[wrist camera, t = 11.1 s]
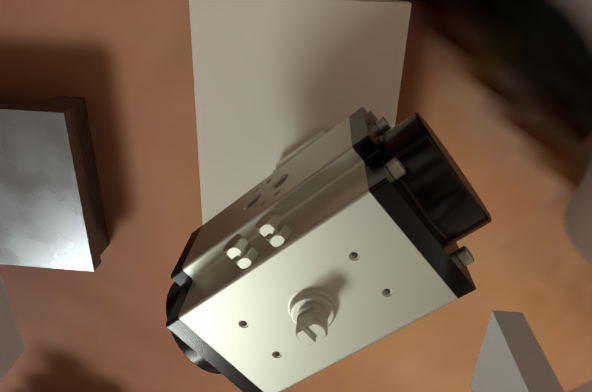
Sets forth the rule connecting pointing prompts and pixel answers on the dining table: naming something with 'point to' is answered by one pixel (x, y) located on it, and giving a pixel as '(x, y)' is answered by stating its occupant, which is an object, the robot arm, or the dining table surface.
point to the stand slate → (49, 187)
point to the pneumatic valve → (326, 254)
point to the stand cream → (285, 80)
